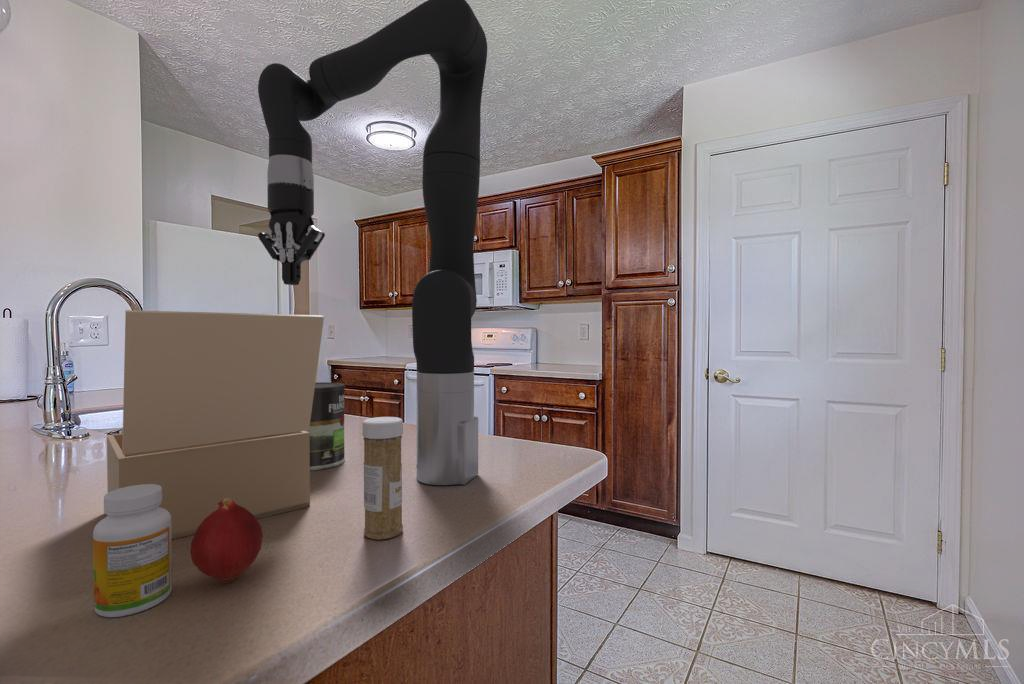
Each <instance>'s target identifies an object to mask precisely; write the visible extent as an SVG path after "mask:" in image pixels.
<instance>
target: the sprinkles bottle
mask: <svg viewBox="0 0 1024 684" xmlns="http://www.w3.org/2000/svg"><path fill="white" fill-rule="evenodd" d="M403 434H404V421H403V419H402V418H401V417H397V416H378V417H376V416H375V417H371V418H367V419H364V420H363V422H362V437H363V442H364V443H363V446H364V447H363V451H364V453H363V455H364V456H363V507H364V529H363V535H364V536H365V537H366V538H369V539H372V540H377V541H378V540H387V539H388V540H389V539H392V538H394V537H396V536H398V535H399V534H401V532H402V531H403V529H404V525H403V516H402V515H403V511H402V509H403V508H402V507H403V506H402V503H403V469H402V468H403V467H402V465H403V464H402V437H403Z"/></svg>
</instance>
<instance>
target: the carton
mask: <svg viewBox="0 0 1024 684" xmlns="http://www.w3.org/2000/svg"><path fill="white" fill-rule="evenodd" d="M122 441H123V432H122V433H115V434H106V465H107V467H106V469H107V472H106V476H107V485H106V486H107V493H109V492H111V491H113V490H116V489H120V488H124V487H128V486H134V485H142V484H156V485H160V486H161V487H162V502H161V504H160V505H159V507H160V508H164V509H166V510H167V511H168V512H169V513H170V515H171V523H172V541H173V540H177V539H181V538H184V537H188V536H194V535H195V532H196V530H197V529H198V527H199V525H200V524H201V523H202V522H203V520H204V519H205V518H206V517H208V516H209V515H210V514H211V513H212V512H214V511H215V510H217V509H218V507H219V505H218V503H219V502H220V501H221V500H223V499H224V498H229V499H231V500H233V501H234V502H235V503H236V504H237V505H239V506H242V507H244V508H246V509H247V510H248V511H249V512H250V513H252V514H253V515H254V516H255V517H256V518H257V520H259V519H263V518H267V517H271V516H275V515H276V516H277V515H279V514H280V515H281V514H284V513H289V512H291V511H297V510H300V509H304V508H309V507H310V506H311V477H310V476H311V475H310V474H311V470H310V433H309V432H307V431H298V432H290V433H283V434H275V435H268V436H260V437H253V438H245V439H238V440H231V441H223V442H216V443H208V444H201V445H193V446H186V447H178V448H171V449H164V450H156V451H149V452H141V453H134V454H126V455H123V453H122Z"/></svg>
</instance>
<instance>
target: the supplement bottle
mask: <svg viewBox="0 0 1024 684" xmlns="http://www.w3.org/2000/svg"><path fill="white" fill-rule="evenodd" d="M161 502H162V487H161V486H160V485H156V484H142V485H134V486H128V487H124V488H120V489H116V490H113V491H111V492H109V493H108V492H107V493H105V495H104V496H103V513H104V514H105V515H107V516H106V517H104V518H103V519H101V520H99V522H97V523H96V525H95V526H94V528H93V532H92V555H93V556H92V559H93V560H92V561H93V563H92V564H93V565H92V566H93V567H92V568H93V570H92V571H93V574H92V576H93V605H94V606H93V608H94V609H93V610H94V611H95V613H96V614H97V615H99V616H101V617H105V618H119V617H120V618H121V617H126V615H127V616H130V615H134V614H137V613H140V612H143V611H146V610H148V609H151V608H153V607H155V606H156V605H159V604H160V603H162V602H163V601H164V600H166V599H168V597H169V596H170V595H171V592H172V590H173V547H172V545H173V543H172V541H173V540H172V523H171V515H170V513H169V512H168V511H167V510H166V509H164V508H160V507H159V505H160V504H161Z"/></svg>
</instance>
